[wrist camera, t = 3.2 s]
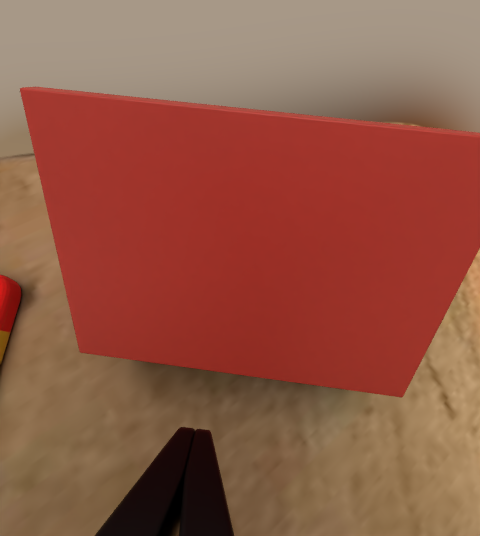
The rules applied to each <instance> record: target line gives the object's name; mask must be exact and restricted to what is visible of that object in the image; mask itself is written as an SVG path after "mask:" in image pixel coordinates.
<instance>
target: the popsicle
mask: <svg viewBox="0 0 480 536" xmlns="http://www.w3.org/2000/svg"><path fill="white" fill-rule="evenodd" d="M20 299H21V288H20V286H19V285H18V283H17V282H15V281H13V280H12V279H10V278H8V277H6V276H3V275H0V365H1V362H2V358H3V355H4V352H5V349H6V345H7V342H8V339H9V336H10V332H11V329H12V326H13V323H14V319H15V316H16V313H17V310H18V306H19V303H20Z"/></svg>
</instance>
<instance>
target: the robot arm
mask: <svg viewBox="0 0 480 536" xmlns="http://www.w3.org/2000/svg"><path fill="white" fill-rule="evenodd" d="M178 535H179V536H234V532H233V528H232V523H231V519H230V514H229V510H228V505H227V501H226V497H225V492H224V488H223V483H222V479H221V474H220V470H219V465H218V461H217V457H216V452H215V448H214V443H213V439H212V434H211V432H210V431H209V430H203V429H197V430H194V429H193V428H186V427H180V428H179V429H178V430H177V431H176V432H175V434H174V435H173V436H172V438H171V439H170V440H169V441H168V443H167V444H166V445H165V447H164V448H163V449H162V450H161V452H160V453H159V454H158V455H157V457H156V458H155V459H154V461H153V462H152V463H151V464H150V466H149V467H148V468H147V469H146V471H145V472H144V473H143V475H142V476H141V477H140V478H139V480H138V481H137V482H136V484H135V485H134V486H133V487H132V489H131V490H130V491H129V492H128V494H127V495H126V496H125V498H124V499H123V500H122V501H121V503H120V504H119V505H118V507H117V508H116V509H115V510H114V512H113V513H112V514H111V515H110V517H109V518H108V519H107V521H106V522H105V523H104V524H103V526H102V527H101V528H100V530H99V531H98V532H97V533H96V535H95V536H178Z"/></svg>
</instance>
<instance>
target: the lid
mask: <svg viewBox="0 0 480 536" xmlns="http://www.w3.org/2000/svg"><path fill="white" fill-rule="evenodd" d="M20 92H21V96H22V101H23V105H24V110H25V114H26V118H27V123H28V127H29V132H30V136H31V140H32V145H33V149H34V153H35V158H36V162H37V167H38V171H39V175H40V180H41V184H42V189H43V193H44V197H45V202H46V206H47V210H48V215H49V219H50V224H51V228H52V232H53V237H54V241H55V246H56V250H57V254H58V259H59V263H60V267H61V272H62V276H63V281H64V285H65V289H66V294H67V298H68V303H69V307H70V311H71V316H72V320H73V324H74V329H75V333H76V338H77V342H78V346H79V351H80V352H81V353H87V354H95V355H102V356H109V357H116V358H123V359H130V360H138V361H145V362H152V363H159V364H166V365H173V366H181V367H188V368H195V369H202V370H209V371H217V372H224V373H231V374H238V375H245V376H252V377H260V378H267V379H274V380H281V381H288V382H295V383H303V384H310V385H317V386H324V387H331V388H338V389H346V390H353V391H360V392H367V393H374V394H382V395H389V396H396V397H403V395H404V393H405V392H406V390H407V388H408V386H409V384H410V382H411V380H412V378H413V376H414V374H415V372H416V370H417V368H418V366H419V364H420V362H421V361H422V359H423V357H424V355H425V353H426V351H427V349H428V347H429V345H430V343H431V341H432V339H433V337H434V335H435V333H436V331H437V330H438V328H439V326H440V324H441V322H442V320H443V318H444V316H445V314H446V312H447V310H448V308H449V306H450V304H451V302H452V300H453V299H454V297H455V295H456V293H457V291H458V289H459V287H460V285H461V283H462V281H463V279H464V277H465V275H466V273H467V271H468V269H469V268H470V266H471V264H472V262H473V260H474V258H475V256H476V254H477V252H478V250H479V248H480V133H476V132H466V131H457V130H447V129H438V128H428V127H419V126H409V125H399V124H390V123H380V122H371V121H360V120H351V119H342V118H332V117H322V116H313V115H302V114H294V113H284V112H274V111H264V110H254V109H245V108H236V107H226V106H216V105H207V104H197V103H187V102H178V101H168V100H158V99H149V98H139V97H130V96H120V95H110V94H100V93H91V92H82V91H72V90H62V89H53V88H43V87H25V88H20Z"/></svg>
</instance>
